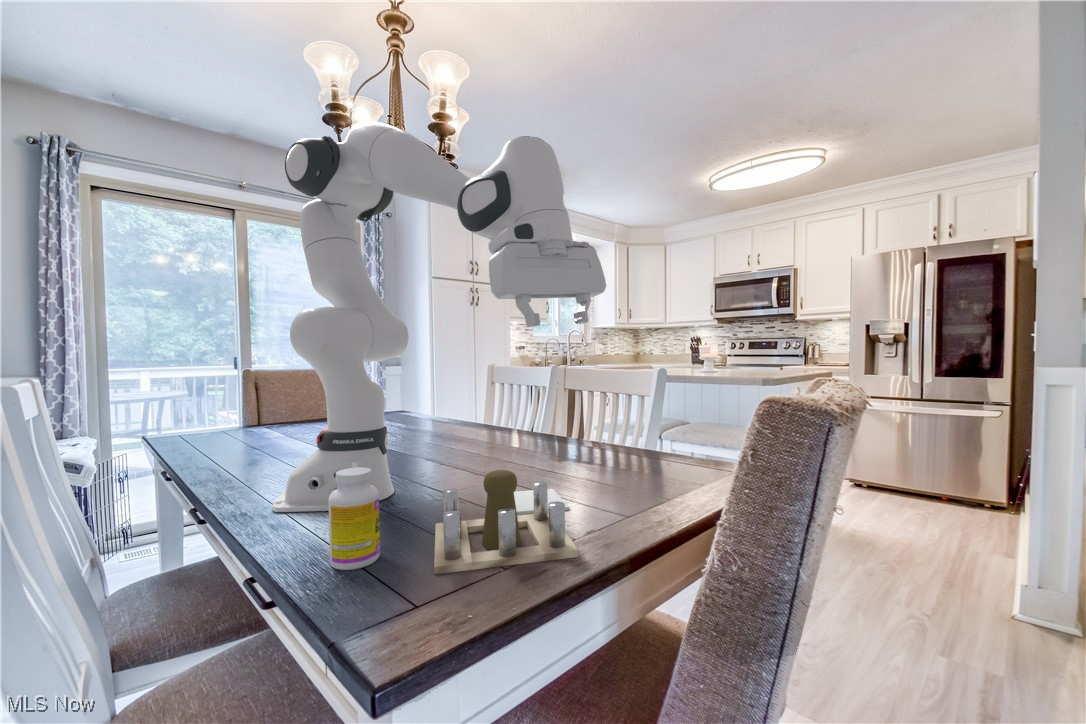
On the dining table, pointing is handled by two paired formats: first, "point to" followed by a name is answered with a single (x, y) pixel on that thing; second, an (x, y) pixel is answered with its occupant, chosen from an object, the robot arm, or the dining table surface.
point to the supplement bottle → (354, 520)
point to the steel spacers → (504, 523)
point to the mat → (526, 501)
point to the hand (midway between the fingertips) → (558, 324)
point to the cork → (498, 505)
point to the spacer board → (493, 558)
